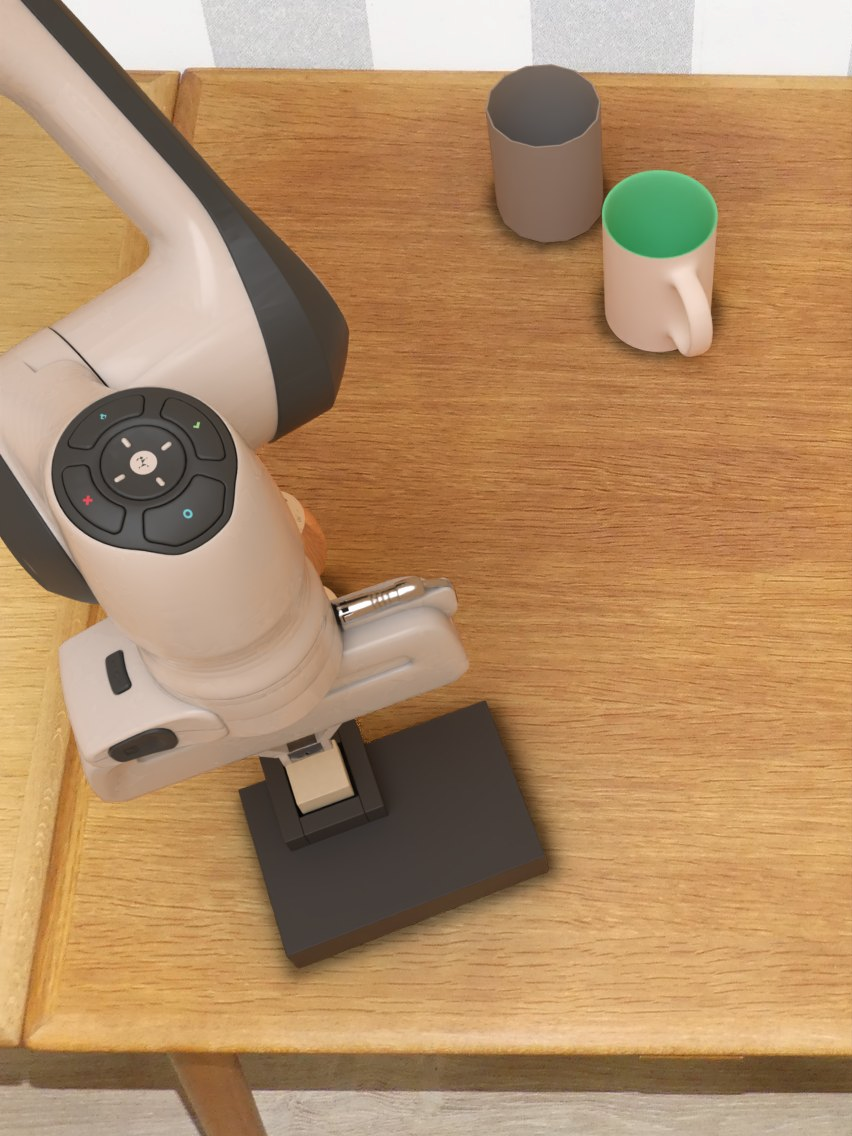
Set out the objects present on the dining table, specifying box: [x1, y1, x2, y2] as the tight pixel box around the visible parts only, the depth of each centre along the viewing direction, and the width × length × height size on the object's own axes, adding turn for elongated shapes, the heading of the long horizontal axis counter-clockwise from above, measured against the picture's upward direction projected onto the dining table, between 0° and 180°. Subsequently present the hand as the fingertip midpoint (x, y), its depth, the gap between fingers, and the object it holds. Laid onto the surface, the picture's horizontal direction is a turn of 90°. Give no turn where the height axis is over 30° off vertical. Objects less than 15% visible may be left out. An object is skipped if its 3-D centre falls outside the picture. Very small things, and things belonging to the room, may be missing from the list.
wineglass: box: [280, 490, 338, 600], centre depth 91 cm, size 6×6×12 cm
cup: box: [484, 63, 604, 243], centre depth 109 cm, size 8×8×10 cm
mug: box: [601, 169, 719, 358], centre depth 103 cm, size 12×8×10 cm
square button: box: [285, 740, 354, 814], centre depth 86 cm, size 3×3×2 cm
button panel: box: [238, 699, 549, 970], centre depth 88 cm, size 12×16×5 cm
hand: (305, 746), depth 81 cm, fingers closed
